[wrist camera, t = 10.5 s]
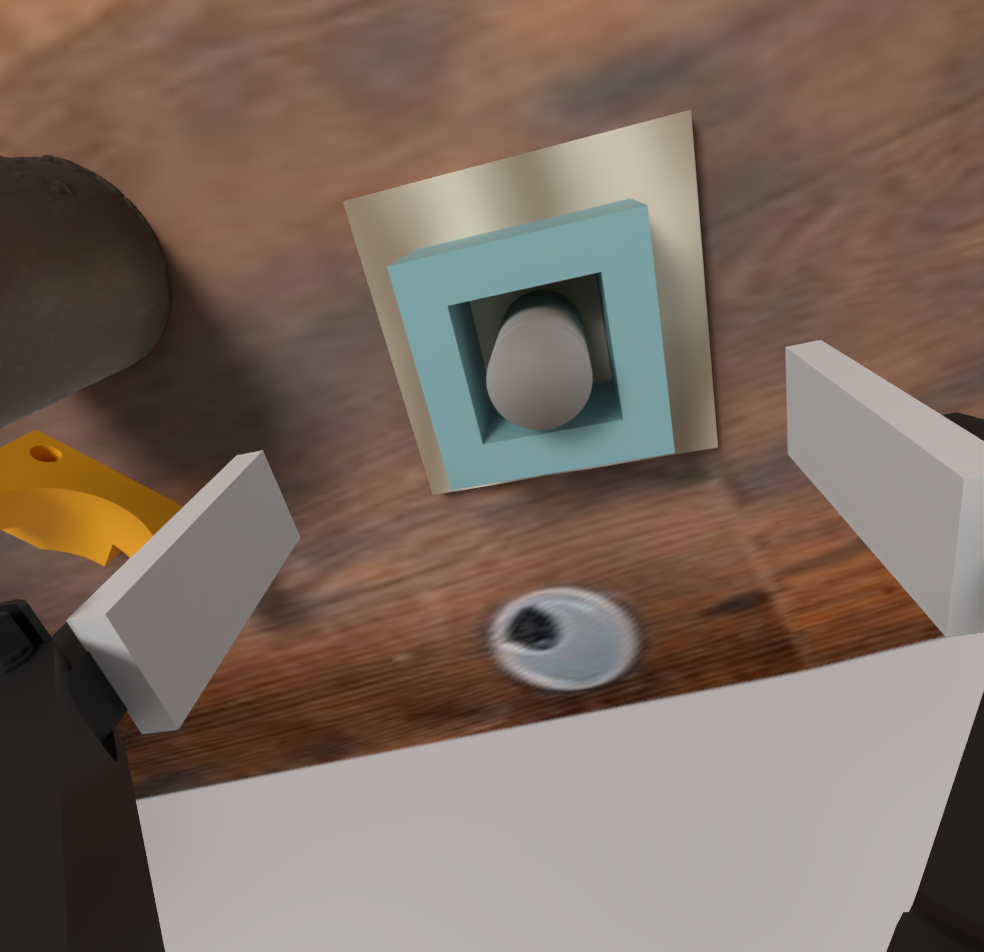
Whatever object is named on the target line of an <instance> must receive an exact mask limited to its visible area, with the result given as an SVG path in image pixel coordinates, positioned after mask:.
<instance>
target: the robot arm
mask: <svg viewBox="0 0 984 952" xmlns="http://www.w3.org/2000/svg"><path fill="white" fill-rule="evenodd" d="M785 348H786V390H787V432H788V455H789V456H790V457H791V458H792V459H793V461H794V462H795V463H796V464H797V465H798V466H799V468H800V469H801V470H802V471H803V472H804V473H805V474H806V476H807V477H808V478H809V479H810V480H811V481H812V483H813V484H814V485H815V486H816V487H817V488H818V490H819V491H820V492H821V493H822V494H823V495H824V496H825V498H826V499H827V500H828V501H829V502H830V503H831V505H832V506H833V507H834V508H835V509H836V510H837V512H838V513H839V514H840V515H841V516H842V517H843V518H844V520H845V521H846V522H847V523H848V524H849V525H850V527H851V528H852V529H853V530H854V531H855V532H856V533H857V535H858V536H859V537H860V538H861V539H862V540H863V542H864V543H865V544H866V545H867V546H868V547H869V549H870V550H871V551H872V552H873V553H874V554H875V555H876V557H877V558H878V559H879V560H880V561H881V562H882V564H883V565H884V566H885V567H886V568H887V569H888V571H889V572H890V573H891V574H892V575H893V576H894V577H895V579H896V580H897V581H898V582H899V583H900V584H901V586H902V587H903V588H904V589H905V590H906V591H907V593H908V594H909V595H910V596H911V597H912V598H913V599H914V601H915V602H916V603H917V604H918V605H919V606H920V608H921V609H922V610H923V611H924V612H925V613H926V614H927V616H928V617H929V618H930V619H931V620H932V621H933V623H934V624H935V625H936V626H937V627H938V628H939V630H940V631H941V632H942V633H943V634H944V635H945V636H946V637H950V636H958V635H966V634H975V633H983V632H984V420H983V419H980V418H976V417H972V416H969V415H965V414H961V413H958V412H956V413H951V414H945V415H941V414H939V413H938V412H936V411H934V410H933V409H931V408H929V407H928V406H926V405H925V404H923V403H921V402H920V401H918V400H917V399H915V398H913V397H912V396H910V395H908V394H907V393H905V392H904V391H902V390H900V389H899V388H897V387H896V386H894V385H892V384H891V383H889V382H888V381H886V380H884V379H883V378H881V377H879V376H878V375H876V374H875V373H873V372H871V371H870V370H868V369H867V368H865V367H863V366H862V365H860V364H859V363H857V362H855V361H854V360H852V359H850V358H849V357H847V356H846V355H844V354H842V353H841V352H839V351H838V350H836V349H834V348H833V347H831V346H830V345H828V344H826V343H825V342H823V341H821V340H819V341H814V342H809V343H804V344H799V345H793V346H788V347H785ZM299 539H300V535H299V533H298V531H297V528H296V526H295V524H294V521H293V519H292V517H291V514H290V512H289V510H288V507H287V505H286V503H285V500H284V498H283V496H282V494H281V491H280V489H279V487H278V484H277V482H276V480H275V477H274V475H273V473H272V470H271V468H270V466H269V463H268V461H267V459H266V456H265V454H264V452H263V450H261V451H256V452H251V453H246V454H241V455H236V456H235V457H234V458H233V459H232V460H231V461H230V462H229V463H228V464H227V465H226V466H225V467H224V468H223V469H222V470H221V471H220V472H219V473H218V474H217V475H216V476H215V477H214V478H213V479H212V480H211V481H210V482H209V483H207V484H206V485H205V486H204V487H203V488H202V489H201V490H200V491H199V492H198V493H197V494H196V495H195V496H194V497H193V498H192V499H191V500H190V501H189V502H188V503H187V504H186V505H185V506H184V507H183V508H182V509H181V510H180V511H179V512H177V513H176V514H175V515H174V516H173V517H172V518H171V519H170V520H169V521H168V522H167V523H166V524H165V525H164V526H163V527H162V528H161V529H160V530H159V531H158V532H157V533H156V534H155V535H154V536H153V537H152V538H151V539H150V540H149V541H147V542H146V543H145V544H144V545H143V546H142V547H141V548H140V549H139V550H138V551H137V552H136V553H135V554H134V555H133V556H132V557H131V558H130V559H129V560H128V561H127V562H126V563H125V564H124V565H123V566H122V567H121V568H120V569H119V570H118V571H116V572H115V573H114V574H113V575H112V576H111V577H110V578H109V579H108V580H107V581H106V582H105V583H104V584H103V585H102V586H101V587H100V588H99V589H98V590H97V591H96V592H95V593H94V594H93V595H92V596H91V597H90V598H89V599H88V600H86V601H85V602H84V603H83V604H82V605H81V606H80V607H79V608H78V609H77V610H76V611H75V612H74V613H73V614H72V615H71V616H70V617H69V618H68V619H67V620H66V622H67V623H66V624H65V625H63V626H62V627H61V628H60V629H59V630H58V631H57V632H56V633H55V634H54V635H53V636H52V637H51V636H50V635H49V633H48V632H47V630H46V629H45V628H44V626H43V625H42V623H41V622H40V620H39V619H38V617H37V616H36V615H35V613H34V612H33V610H32V609H31V607H30V606H29V605H28V603H27V602H26V600H18V599H16V600H12V601H7V602H3V603H0V952H165V949H164V944H163V939H162V934H161V929H160V923H159V918H158V913H157V908H156V903H155V898H154V893H153V887H152V882H151V877H150V872H149V867H148V862H147V856H146V852H145V846H144V841H143V836H142V831H141V825H140V820H139V815H138V810H137V805H136V800H135V795H134V789H133V784H132V779H131V774H130V769H129V764H128V759H127V753H126V748H125V743H124V741H123V740H122V738H121V737H120V735H119V734H118V732H117V731H116V730H115V728H114V727H115V726H116V725H117V723H118V722H119V721H120V719H121V718H122V717H123V715H124V714H125V713H126V711H127V712H128V714H129V715H130V717H131V718H132V720H133V721H134V723H135V724H136V726H137V727H138V729H139V730H140V732H141V733H142V734H147V733H156V732H164V731H172V730H179V728H180V726H181V725H182V723H183V722H184V720H185V718H186V717H187V715H188V714H189V712H190V711H191V709H192V707H193V706H194V704H195V703H196V701H197V700H198V698H199V696H200V695H201V693H202V692H203V690H204V689H205V687H206V685H207V684H208V682H209V681H210V679H211V678H212V676H213V674H214V673H215V671H216V670H217V668H218V667H219V665H220V663H221V662H222V660H223V659H224V657H225V656H226V654H227V652H228V651H229V649H230V648H231V646H232V644H233V643H234V641H235V640H236V638H237V637H238V635H239V633H240V632H241V630H242V629H243V627H244V626H245V624H246V622H247V621H248V619H249V618H250V616H251V615H252V613H253V611H254V610H255V608H256V607H257V605H258V604H259V602H260V600H261V599H262V597H263V596H264V594H265V593H266V591H267V589H268V588H269V586H270V585H271V583H272V582H273V580H274V578H275V577H276V575H277V574H278V572H279V571H280V569H281V567H282V566H283V564H284V563H285V561H286V559H287V558H288V556H289V555H290V553H291V552H292V550H293V548H294V547H295V545H296V544H297V542H298V541H299ZM887 952H984V692H983V695H982V699H981V702H980V705H979V708H978V711H977V714H976V717H975V720H974V723H973V726H972V729H971V732H970V735H969V738H968V741H967V744H966V747H965V750H964V753H963V756H962V759H961V762H960V765H959V768H958V771H957V774H956V777H955V780H954V783H953V786H952V789H951V792H950V795H949V798H948V801H947V804H946V807H945V810H944V813H943V817H942V819H941V822H940V825H939V828H938V831H937V835H936V837H935V840H934V843H933V847H932V849H931V852H930V855H929V858H928V861H927V864H926V867H925V870H924V873H923V877H922V880H921V882H920V886H919V889H918V891H917V894H916V897H915V900H914V902H913V905H912V907H911V909H910V911H909V912H903V914H902V916H901V918H900V920H899V922H898V924H897V926H896V928H895V931H894V934H893V936H892V939H891V942H890V944H889V947H888V949H887Z"/></svg>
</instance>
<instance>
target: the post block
mask: <svg viewBox="0 0 984 952" xmlns="http://www.w3.org/2000/svg"><path fill="white" fill-rule="evenodd" d="M629 198H631V199H633V200H636V201H638V202H641V203H643V204H646V205H647V206H648V215H649V224H650V233H651V242H652V251H653V260H654V269H655V278H656V287H657V296H658V305H659V314H660V323H661V332H662V341H663V350H664V359H665V368H666V377H667V386H668V395H669V404H670V413H671V422H672V431H673V440H674V449H675V453H672V454H666V455H660V456H654V457H648V458H642V459H636V460H630V461H624V462H618V463H612V464H606V465H600V466H594V467H588V468H582V469H576V470H570V471H564V472H558V473H552V474H546V475H540V476H534V477H528V478H522V479H516V480H510V481H503V482H497V483H491V484H485V485H479V486H473V487H467V488H461V489H455V490H451V487H450V484H449V480H448V477H447V473H446V470H445V466H444V463H443V459H442V456H441V452H440V449H439V445H438V442H437V439H436V435H435V432H434V428H433V425H432V421H431V418H430V414H429V411H428V407H427V404H426V400H425V397H424V394H423V390H422V387H421V383H420V380H419V376H418V373H417V369H416V366H415V362H414V359H413V355H412V352H411V348H410V345H409V342H408V338H407V335H406V331H405V328H404V324H403V321H402V317H401V314H400V310H399V307H398V303H397V300H396V297H395V293H394V290H393V286H392V283H391V279H390V276H389V272H388V269H387V266H389V265H391V264H392V263H394V262H396V261H397V260H399V259H401V258H402V257H404V256H406V255H407V254H409V253H411V252H412V251H414V250H417V249H421V248H425V247H429V246H433V245H438V244H442V243H446V242H450V241H454V240H458V239H463V238H467V237H471V236H475V235H479V234H483V233H488V232H492V231H496V230H500V229H504V228H508V227H513V226H517V225H521V224H525V223H529V222H533V221H538V220H542V219H546V218H550V217H554V216H558V215H563V214H567V213H571V212H575V211H579V210H583V209H588V208H592V207H596V206H600V205H604V204H608V203H613V202H617V201H621V200H625V199H629ZM343 204H344V207H345V210H346V213H347V217H348V220H349V223H350V226H351V230H352V233H353V236H354V239H355V243H356V246H357V249H358V252H359V256H360V259H361V262H362V266H363V269H364V272H365V275H366V279H367V282H368V285H369V288H370V292H371V295H372V298H373V301H374V305H375V308H376V311H377V314H378V318H379V321H380V324H381V328H382V331H383V334H384V337H385V341H386V344H387V347H388V350H389V354H390V357H391V360H392V363H393V367H394V370H395V373H396V376H397V380H398V383H399V386H400V390H401V393H402V396H403V399H404V403H405V406H406V409H407V412H408V416H409V419H410V422H411V425H412V429H413V432H414V435H415V438H416V442H417V445H418V448H419V452H420V455H421V458H422V461H423V465H424V468H425V471H426V474H427V478H428V481H429V484H430V487H431V491H432V494H433V495H436V494H442V493H448V492H454V491H460V490H466V489H472V488H478V487H484V486H490V485H496V484H502V483H508V482H514V481H520V480H526V479H532V478H538V477H544V476H550V475H556V474H562V473H568V472H574V471H580V470H586V469H592V468H598V467H604V466H610V465H616V464H622V463H628V462H634V461H640V460H646V459H651V458H657V457H663V456H669V455H675V454H681V453H687V452H693V451H699V450H705V449H711V448H717V447H718V442H717V429H716V417H715V404H714V392H713V379H712V367H711V354H710V342H709V329H708V317H707V304H706V292H705V280H704V267H703V255H702V242H701V230H700V217H699V205H698V192H697V180H696V167H695V155H694V142H693V130H692V117H691V110H688V111H685V112H681V113H677V114H673V115H669V116H665V117H662V118H658V119H654V120H650V121H646V122H643V123H639V124H635V125H631V126H627V127H624V128H620V129H616V130H612V131H608V132H605V133H601V134H597V135H593V136H589V137H586V138H582V139H578V140H574V141H570V142H567V143H563V144H559V145H555V146H551V147H547V148H544V149H540V150H536V151H532V152H528V153H525V154H521V155H517V156H513V157H509V158H506V159H502V160H498V161H494V162H490V163H487V164H483V165H479V166H475V167H471V168H468V169H464V170H460V171H456V172H452V173H449V174H445V175H441V176H437V177H433V178H429V179H426V180H422V181H418V182H414V183H410V184H407V185H403V186H399V187H395V188H391V189H388V190H384V191H380V192H376V193H372V194H369V195H365V196H361V197H357V198H353V199H350V200H346V201H343ZM470 306H471V310H472V314H473V318H474V322H475V327H476V331H477V335H478V339H479V343H480V347H481V352H482V356H483V360H484V364H485V368H486V373H487V375H486V384H487V390H488V394H489V397H490V399H491V401H492V403H493V405H494V406H495V408H496V409H497V411H498V412H499V413H500V414H501V415H502V416H503V417H504V418H505V419H507V420H508V421H510V422H511V423H513V424H515V425H517V426H520V427H522V428H526V429H531V430H547V429H552V428H556V427H559V426H561V425H563V424H565V423H567V422H569V421H570V420H572V419H573V418H574V417H575V416H576V415H577V414H578V413H579V412H580V411H581V410H582V409H583V407H584V406H585V404H586V402H587V400H588V398H589V396H590V393H591V389H592V383H595V382H600V381H605V380H611V379H612V378H611V371H610V364H609V358H608V351H607V344H606V338H605V331H604V324H603V318H602V311H601V305H600V298H599V291H598V285H597V278H596V273H594V274H589V275H585V276H580V277H576V278H571V279H567V280H562V281H558V282H553V283H549V284H544V285H540V286H535V287H530V288H526V289H521V290H517V291H512V292H508V293H503V294H499V295H494V296H490V297H485V298H481V299H476V300H472V301H470Z"/></svg>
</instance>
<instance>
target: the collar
mask: <svg viewBox="0 0 984 952" xmlns="http://www.w3.org/2000/svg"><path fill="white" fill-rule="evenodd" d="M387 269H388V272H389V276H390V279H391V283H392V286H393V290H394V293H395V297H396V300H397V303H398V307H399V310H400V314H401V317H402V321H403V324H404V328H405V331H406V335H407V338H408V342H409V345H410V348H411V352H412V355H413V359H414V362H415V366H416V369H417V373H418V376H419V380H420V383H421V387H422V390H423V394H424V397H425V400H426V404H427V407H428V411H429V414H430V418H431V421H432V425H433V428H434V432H435V435H436V439H437V442H438V445H439V449H440V452H441V456H442V459H443V463H444V466H445V470H446V473H447V477H448V480H449V484H450V487H451V490H455V489H461V488H467V487H473V486H479V485H485V484H491V483H497V482H503V481H510V480H516V479H522V478H528V477H534V476H540V475H546V474H552V473H558V472H564V471H570V470H576V469H582V468H588V467H594V466H600V465H606V464H612V463H618V462H624V461H630V460H636V459H642V458H648V457H654V456H660V455H666V454H672V453H675V449H674V440H673V431H672V422H671V413H670V404H669V395H668V386H667V377H666V368H665V359H664V350H663V341H662V332H661V323H660V314H659V305H658V296H657V287H656V278H655V269H654V260H653V251H652V242H651V233H650V224H649V215H648V206H647V205H646V204H643V203H641V202H638V201H636V200H633V199H631V198H629V199H625V200H621V201H617V202H613V203H608V204H604V205H600V206H596V207H592V208H588V209H583V210H579V211H575V212H571V213H567V214H563V215H558V216H554V217H550V218H546V219H542V220H538V221H533V222H529V223H525V224H521V225H517V226H513V227H508V228H504V229H500V230H496V231H492V232H488V233H483V234H479V235H475V236H471V237H467V238H463V239H458V240H454V241H450V242H446V243H442V244H438V245H433V246H429V247H425V248H421V249H417V250H414V251H412V252H411V253H409V254H407V255H406V256H404V257H402V258H401V259H399V260H397V261H396V262H394V263H392V264H391V265H389V266H387ZM594 273H596V278H597V285H598V291H599V298H600V305H601V311H602V318H603V324H604V331H605V338H606V344H607V351H608V358H609V364H610V371H611V378H612V379H611V380H605V381H600V382H595V383H592V389H591V393H590V396H589V398H588V400H587V402H586V404H585V406H584V407H583V409H582V410H581V411H580V412H579V413H578V414H577V415H576V416H575V417H574V418H573V419H572V420H570V421H569V422H567V423H565V424H563V425H561V426H559V427H556V428H552V429H547V430H531V429H526V428H522V427H520V426H517V425H515V424H513V423H511V422H510V421H508V420H507V419H505V418H504V417H503V416H502V415H501V414H500V413H499V412H498V411H497V409H496V408H495V406H494V405H493V403H492V401H491V399H490V397H489V394H488V390H487V384H486V375H487V373H486V368H485V364H484V360H483V356H482V352H481V347H480V343H479V339H478V335H477V331H476V327H475V322H474V318H473V314H472V310H471V306H470V301H472V300H476V299H481V298H485V297H490V296H494V295H499V294H503V293H508V292H512V291H517V290H521V289H526V288H530V287H535V286H540V285H544V284H549V283H553V282H558V281H562V280H567V279H571V278H576V277H580V276H585V275H589V274H594Z"/></svg>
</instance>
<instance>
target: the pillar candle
mask: <svg viewBox="0 0 984 952" xmlns="http://www.w3.org/2000/svg"><path fill="white" fill-rule="evenodd" d="M169 299H170V290H169V284H168V279H167V273H166V268H165V264H164V260H163V257H162V254H161V250H160V248H159V246H158V243H157V241H156V239H155V237H154V235H153V233H152V231H151V229H150V228H149V226H147V224H146V223H145V220H144V218H143V217H142V216H141V215H140V213H139V212H138V211H137V210H136V209H135V208H134V206H133V205H132V204H131V203H130V201H129V200H128V199H126V198H125V197H122V196H121V192H119V191H117V189H116V188H115V187H113V186H112V185H111V184H110V183H108V182H107V181H105V180H104V179H102V178H101V177H100V176H98V175H97V174H95V173H93V172H91V171H89V170H87V169H85V168H84V167H82V166H79V165H78V164H75V163H73V162H71V161H68V160H65V159H62V158H58V157H54V156H49V155H43V157H42V158H41V157H15V158H8V157H2V156H0V428H2V427H4V426H6V425H7V424H9V423H12V422H13V421H16V420H18V419H20V418H22V417H24V416H27V415H29V414H32V413H33V412H34V411H36V410H39V409H42V408H44V407H46V406H48V405H51V404H52V403H55V402H57V401H59V400H61V399H63V398H65V397H67V396H69V395H70V394H72V393H75V392H77V391H80V390H82V389H83V388H85V387H86V386H89V385H92V384H94V383H96V382H99V381H100V380H102V379H104V378H106V377H108V376H110V375H112V374H114V373H116V372H119V371H121V370H123V369H124V368H127V367H129V366H131V365H133V364H134V363H135V362H137V361H138V360H139V359H140V358H142V357H145V356H147V355H148V354H149V353H150V352H151V350H152V349H153V348H154V347H155V345H156V344H157V342H158V341H159V339H160V338H161V336H162V334H163V331H164V329H165V326H166V322H167V319H168V315H169V309H170V301H169Z"/></svg>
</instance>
